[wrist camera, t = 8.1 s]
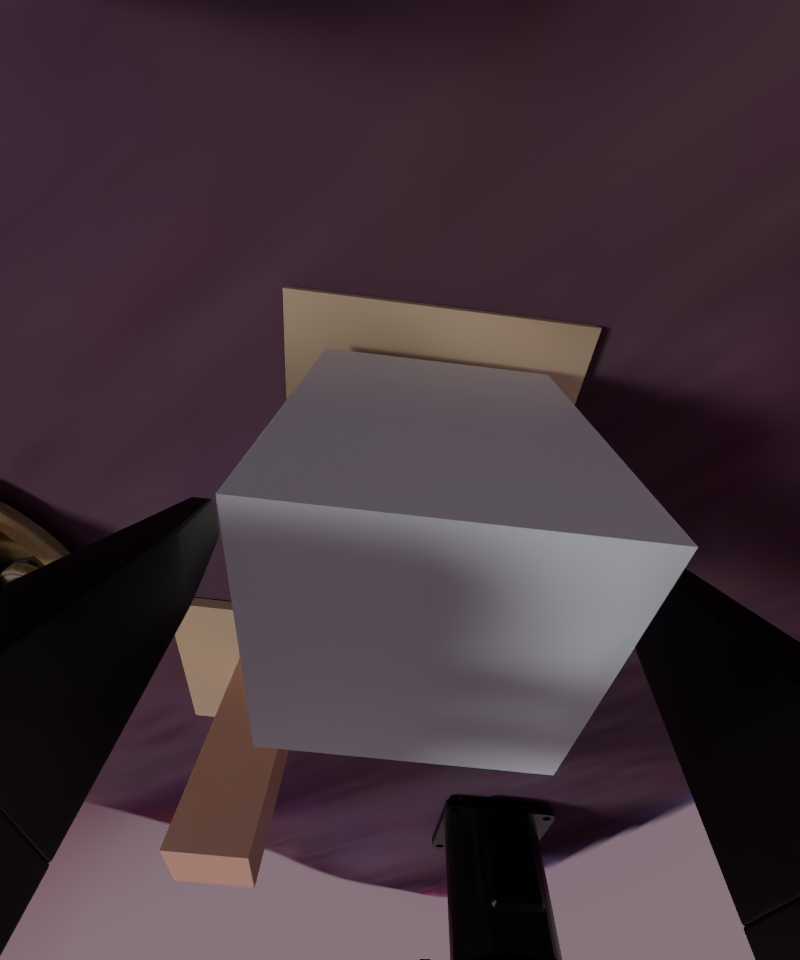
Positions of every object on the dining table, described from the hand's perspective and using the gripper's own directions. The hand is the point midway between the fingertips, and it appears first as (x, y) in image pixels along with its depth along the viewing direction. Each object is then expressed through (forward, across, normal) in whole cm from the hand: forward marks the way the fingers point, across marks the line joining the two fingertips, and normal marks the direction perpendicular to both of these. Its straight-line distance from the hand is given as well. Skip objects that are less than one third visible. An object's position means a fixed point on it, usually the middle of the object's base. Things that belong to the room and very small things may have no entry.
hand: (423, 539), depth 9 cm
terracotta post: (+4, +5, +12) cm, 14 cm away
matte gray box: (+4, 0, 0) cm, 4 cm away
